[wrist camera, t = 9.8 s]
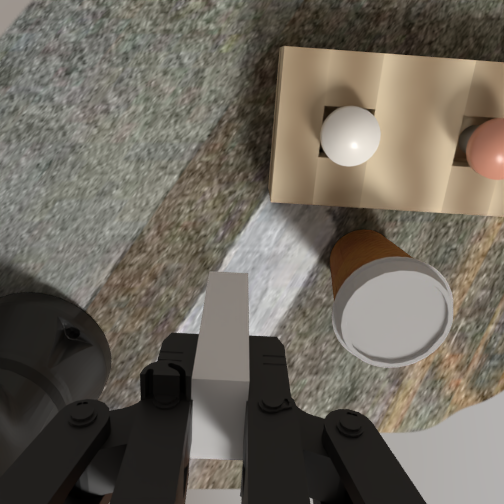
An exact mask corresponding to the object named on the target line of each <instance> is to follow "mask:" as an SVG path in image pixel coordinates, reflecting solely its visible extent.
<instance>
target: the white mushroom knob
mask: <svg viewBox="0 0 504 504" xmlns="http://www.w3.org/2000/svg"><path fill="white" fill-rule="evenodd" d="M380 136H381V132H380V127H379V124H378V121H377V120H376V118H375V117H374V116H373V115H372V114H371V113H370V112H369V111H367V110H365V109H363V108H360V107H357V106H344V107H340V108H338V109H336V110H334V111H333V112H332V113H331V114H330V115H328V117H327V118H326V119H325V121H324V123H323V125H322V127H321V131H320V142H321V146H322V148H323V150H324V152H325V153H326V155H327V156H328V157H329V158H330V159H331V160H332V161H333V162H335V163H337V164H339V165H342V166H356V165H360V164H362V163H364V162H366V161H367V160H368V159H369V158H371V157H372V155H373V154H374V153H375V151H376V150H377V148H378V145H379V142H380Z"/></svg>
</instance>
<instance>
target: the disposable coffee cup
mask: <svg viewBox="0 0 504 504" xmlns="http://www.w3.org/2000/svg"><path fill="white" fill-rule="evenodd" d="M330 268H331V277H332V286H333V295H334V304H333V307H332V324H333V328H334V332H335V334H336V336H337V338H338V340H339V341H340V343H341V344H342V345H343V346H344V347H345V348H346V349H347V350H348V351H349V352H350V353H352V354H353V355H355V356H356V357H358V358H359V359H361V360H362V361H364V362H366V363H369V364H372V365H375V366H379V367H387V368H389V367H401V366H406V365H410V364H413V363H416V362H418V361H420V360H422V359H424V358H426V357H427V356H428V355H430V354H431V353H433V352H434V351H435V350H436V349H437V348H438V347H439V346H440V345H441V344H442V342H443V341H444V340H445V338H446V337H447V335H448V333H449V331H450V328H451V325H452V321H453V297H452V292H451V289H450V287H449V284H448V282H447V281H446V280H445V278H444V277H443V275H442V274H441V273H440V272H439V271H437V270H436V269H435V268H434V267H432V266H431V265H430V264H427V263H425V262H423V261H421V260H417V259H414V258H412V257H411V256H410V255H408V254H407V253H406V252H404V251H403V250H402V249H400V248H399V247H397V246H396V245H395V244H393V243H392V242H391V241H389V240H388V239H387V238H385V237H384V236H383V235H382V234H380V233H378V232H376V231H372V230H365V229H364V230H356V231H353V232H350V233H348V234H346V235H345V236H343V237H342V238H341V239H340V240H339V241H337V243H336V244H335V246H334V247H333V249H332V252H331V255H330Z"/></svg>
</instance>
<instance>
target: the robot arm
mask: <svg viewBox="0 0 504 504" xmlns="http://www.w3.org/2000/svg"><path fill="white" fill-rule="evenodd" d="M286 365H287V364H286V358H285V349H284V345H283V344H282V343H281V342H280V340H279V339H278V338H277V337H267V336H249V306H248V273H230V272H212V271H210V272H209V278H208V284H207V290H206V296H205V302H204V308H203V314H202V320H201V326H200V332H199V334H187V333H171V334H170V335H169V336H168V337H167V338H166V339H165V340H164V341H163V343H162V346H161V350H160V353H159V357H158V361H157V362H154V363H151V364H149V365H148V366H146V367H145V368H144V369H143V370H142V372H141V373H140V386H141V401H139V402H138V403H136V404H134V405H132V406H130V407H126V408H123V409H117V410H112V411H109V408H108V407H107V405H106V404H105V403H103V402H101V401H98V400H97V399H98V398H99V396H100V395H101V393H102V391H103V389H104V386H105V384H106V382H107V379H108V377H109V374H110V369H111V353H110V348H109V345H108V342H107V340H106V338H105V336H104V334H103V332H102V331H101V329H100V328H99V326H98V325H97V324H96V323H95V322H94V320H93V319H92V318H91V317H90V316H88V315H87V314H86V313H85V312H84V311H82V310H81V309H79V308H78V307H76V306H75V305H73V304H71V303H69V302H67V301H65V300H62V299H60V298H57V297H54V296H50V295H46V294H40V293H16V294H11V295H7V296H4V297H1V298H0V504H109V502H110V504H185V499H186V492H187V485H188V477H189V458H199V459H224V460H243V467H242V480H241V493H240V496H241V497H242V502H241V504H310V498H312V499H313V504H426V502H425V501H424V499H423V498H422V496H421V495H420V493H419V492H418V490H417V489H416V487H415V486H414V484H413V483H412V481H411V480H410V478H409V477H408V475H407V474H406V472H405V471H404V469H403V468H402V467H401V465H400V463H399V462H398V460H397V459H396V457H395V456H394V454H393V453H392V451H391V450H390V448H389V447H388V445H387V444H386V442H385V441H384V439H383V438H382V436H381V435H380V433H379V432H378V430H377V429H376V427H375V426H374V424H373V423H372V422H371V421H370V420H369V419H368V418H367V417H366V416H364V415H362V414H361V413H359V412H356V411H352V410H349V409H338V410H335V411H332V412H330V413H329V414H328V415H327V416H326V418H325V419H323V418H320V417H316V416H313V415H310V414H308V413H306V412H304V411H302V410H301V409H300V408H298V407H297V406H296V404H295V402H294V399H292V398H291V393H290V386H289V378H288V371H287V366H286ZM309 497H310V498H309Z"/></svg>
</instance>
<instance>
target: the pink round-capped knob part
mask: <svg viewBox="0 0 504 504" xmlns="http://www.w3.org/2000/svg"><path fill="white" fill-rule="evenodd" d="M459 147H460V149H461V150H462V151H463V152H464V153H466V158H467V161H468V164H469V166H470V167H471V168H472V169H473V170H474V171H475V172H476V173H478V174H480V175H482V176H484V177H486V178H489V179H493V180H502V179H504V118H495V119H491V120H488V121H486V122H485V123H483V124H482V125H472V126H469V127H467V128H466V129H465V130H464V131H463V132H462V133H461V135H460V138H459Z"/></svg>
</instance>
